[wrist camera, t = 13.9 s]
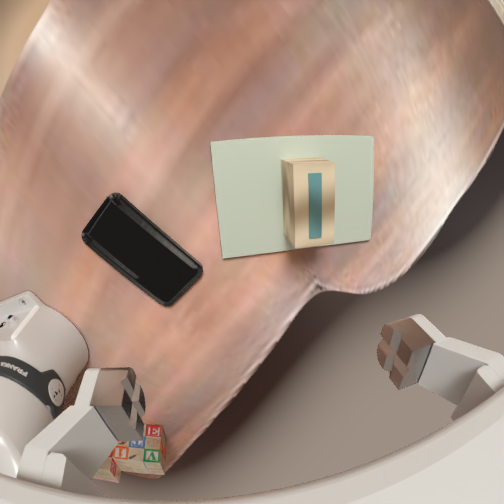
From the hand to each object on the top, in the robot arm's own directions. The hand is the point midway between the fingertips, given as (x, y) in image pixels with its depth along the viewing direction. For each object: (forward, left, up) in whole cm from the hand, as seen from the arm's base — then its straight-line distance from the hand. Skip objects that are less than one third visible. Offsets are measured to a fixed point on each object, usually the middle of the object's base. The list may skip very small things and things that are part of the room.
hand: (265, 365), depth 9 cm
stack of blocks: (-28, -44, -28) cm, 59 cm away
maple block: (+9, -2, -27) cm, 29 cm away
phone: (-10, -7, -28) cm, 31 cm away
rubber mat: (+10, -2, -28) cm, 29 cm away
